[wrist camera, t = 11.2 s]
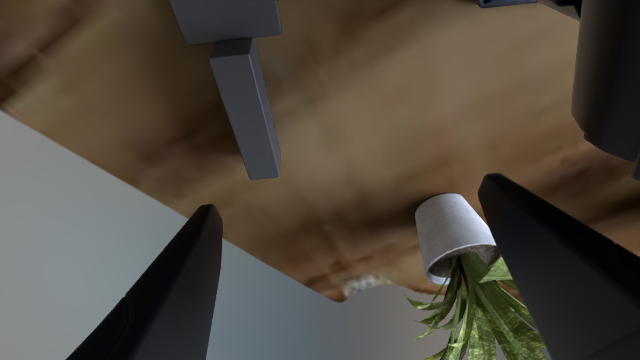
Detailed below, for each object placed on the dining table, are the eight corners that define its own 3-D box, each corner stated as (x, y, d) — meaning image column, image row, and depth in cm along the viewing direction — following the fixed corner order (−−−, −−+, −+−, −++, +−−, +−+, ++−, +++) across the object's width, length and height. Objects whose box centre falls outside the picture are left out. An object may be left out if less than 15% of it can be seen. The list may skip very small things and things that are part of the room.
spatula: (135, -98, 13) (108, -95, 11) (258, -113, 13) (253, -112, 11) (232, 158, 24) (227, 183, 22) (301, 150, 24) (302, 175, 22)
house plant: (353, 170, 26) (405, 405, 14) (523, 129, 24) (743, 360, 12) (375, 254, 36) (416, 434, 24) (496, 230, 34) (605, 411, 22)
